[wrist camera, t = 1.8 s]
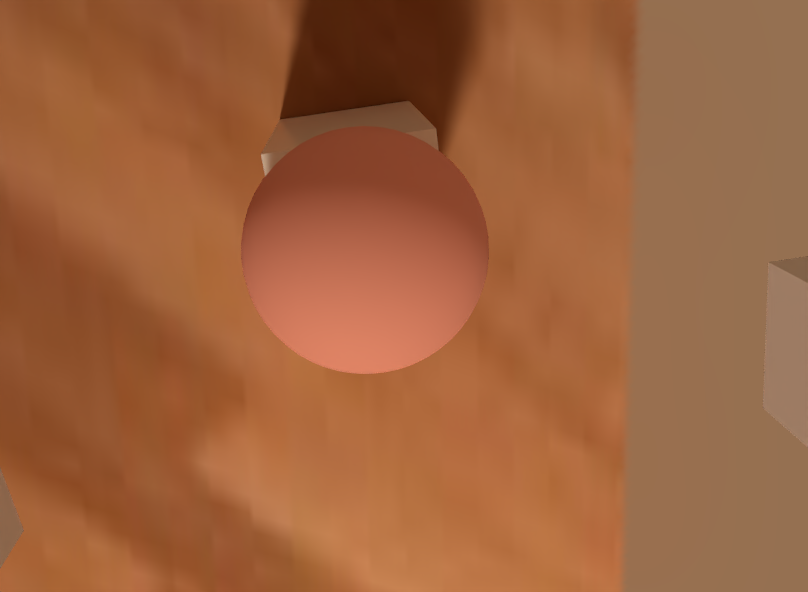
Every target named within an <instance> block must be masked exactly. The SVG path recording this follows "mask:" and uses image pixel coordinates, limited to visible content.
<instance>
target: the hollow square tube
mask: <svg viewBox="0 0 808 592" xmlns="http://www.w3.org/2000/svg"><path fill="white" fill-rule="evenodd" d="M356 126H373V127H383V128H388V129H394V130H397V131H400V132H403V133H406V134H409V135H412V136H414V137H416V138H418V139H420V140H422V141H424V142H426V143H428V144H429V145H431V146H432V147H434V148H435V149H437V150H438V151H439V149H438V140H437V131H436V128H435V127H434V126H433V125H432V124H431V123H430V122H429V121H428V120H427V119H426V118H425V117H424V116H423V114H422V113H421V112H420V111H419V110H418V109H417V108H416V107H415V106H414V105H413V104H412V103H411V102H410V101H404V102H397V103H390V104H383V105H376V106H369V107H363V108H356V109H349V110H342V111H335V112H328V113H322V114H315V115H308V116H301V117H294V118H288V119H281V120H279V122H278V124H277V125H276V127H275V129H274V131H273V133H272V135H271V137H270V138H269V140H268V142H267V144H266V146H265V148H264V149H263V151H262V153H261V157H262V162H263V167H264V172H265V176H266V175H267V174H268V173H269V171H270V170H271V169H272V168H273V166H274V165H275V164H276V163H277V162H278V161H280V160H281V159H282V158H283V157H284V156H285V155H286V154H287V153H288V152H290V151H291V150H293V149H294V148H295V147H297V146H298V145H300V144H301V143H303V142H305V141H307V140H309V139H311V138H313V137H315V136H317V135H320V134H323V133H326V132H328V131H332V130H336V129H341V128H345V127H356Z"/></svg>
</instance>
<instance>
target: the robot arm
mask: <svg viewBox="0 0 808 592" xmlns="http://www.w3.org/2000/svg"><path fill="white" fill-rule="evenodd" d="M765 346H766V347H765V371H764V397H763V399H764V400H763V408H764V409H765V410H766V411H767V412H768V413H769V414H770V415H772V416H773V417H774V418H775V419H776V420H777V421H778V422H780V423H781V424H782V425H783V426H784V427H785V428H786V429H788V430H789V431H790V432H791V433H792V434H793V435H794V436H795V437H797V438H798V439H799V440H800V441H801V442H802V443H804V444H805V445H806V446H807V447H808V256H805V257H799V258H793V259H786V260H780V261H774V262H769V267H768V293H767V320H766V345H765ZM23 531H24V530H23V527H22V524H21V522H20V519H19V516H18V514H17V511H16V508H15V506H14V503H13V500H12V498H11V495H10V492H9V490H8V487H7V484H6V482H5V479H4V476H3V474H2V471H1V468H0V568H1V566H2V565H3V563H4V561H5V560H6V558H7V557H8V555H9V553H10V552H11V550H12V549H13V547H14V545H15V544H16V542H17V541H18V539H19V537H20V536H21V534H22V532H23Z"/></svg>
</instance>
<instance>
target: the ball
mask: <svg viewBox="0 0 808 592" xmlns="http://www.w3.org/2000/svg"><path fill="white" fill-rule="evenodd" d="M488 259H489V247H488V233H487V227H486V221H485V218H484V215H483V212H482V208H481V206H480V204H479V201H478V199H477V197H476V195H475V193H474V191H473V189H472V187H471V186H470V184H469V183H468V181H467V180H466V178H465V176H464V175H463V174H462V173H461V172H460V170H459V169H458V168H457V167H456V166H455V165H454V163H453V162H451V161H450V160H449V159H448V158H447V157H446V156H445V155H443V154H442V153H441V152H440V151H438V150H437V149H435V148H434V147H432V146H431V145H429V144H428V143H426V142H424V141H422V140H420V139H418V138H416V137H414V136H412V135H409V134H406V133H403V132H400V131H397V130H394V129H388V128H383V127H373V126H356V127H345V128H341V129H336V130H332V131H328V132H326V133H323V134H320V135H317V136H315V137H313V138H311V139H309V140H307V141H305V142H303V143H301V144H300V145H298V146H297V147H295V148H294V149H293V150H291V151H290V152H288V153H287V154H286V155H285V156H284V157H283V158H282V159H281V160H280V161H278V162H277V163H276V164H275V165H274V166H273V168H272V169H271V170H270V171H269V173H268V174H267V175H266V176H265V177H264V179H263V180H262V182H261V183H260V185H259V187H258V188H257V190H256V192H255V193H254V196H253V198H252V200H251V203H250V205H249V207H248V211H247V214H246V218H245V222H244V227H243V234H242V242H241V260H242V267H243V273H244V277H245V281H246V284H247V288H248V291H249V294H250V297H251V299H252V301H253V303H254V305H255V308H256V309H257V311H258V313H259V314H260V316H261V318H262V319H263V321H264V322H265V323H266V325H267V326H268V327H269V328H270V329H271V331H272V332H273V333H274V334H275V335H276V336H277V337H278V338H279V339H280V340H281V341H282V342H283V343H284V344H285V345H286V346H288V347H289V348H290V349H292V350H293V351H295V352H296V353H297V354H299V355H300V356H302V357H304V358H306V359H308V360H309V361H311V362H313V363H316V364H318V365H321V366H323V367H326V368H330V369H333V370H337V371H341V372H349V373H360V374H372V373H382V372H388V371H393V370H397V369H401V368H404V367H407V366H409V365H412V364H415V363H417V362H419V361H421V360H423V359H425V358H427V357H428V356H430V355H432V354H433V353H435V352H436V351H438V350H439V349H440V348H442V347H443V346H444V345H445V344H446V343H448V342H449V341H450V340H451V339H452V338H453V337H454V336H455V335H456V334H457V333H458V332H459V330H460V329H461V328H462V327H463V325H464V324H465V322H466V321H467V320H468V318H469V317H470V315H471V313H472V311H473V309H474V308H475V306H476V304H477V302H478V300H479V297H480V295H481V292H482V289H483V287H484V283H485V279H486V275H487V268H488Z"/></svg>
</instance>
